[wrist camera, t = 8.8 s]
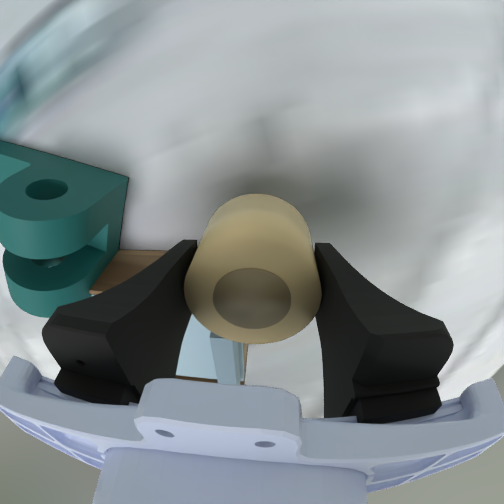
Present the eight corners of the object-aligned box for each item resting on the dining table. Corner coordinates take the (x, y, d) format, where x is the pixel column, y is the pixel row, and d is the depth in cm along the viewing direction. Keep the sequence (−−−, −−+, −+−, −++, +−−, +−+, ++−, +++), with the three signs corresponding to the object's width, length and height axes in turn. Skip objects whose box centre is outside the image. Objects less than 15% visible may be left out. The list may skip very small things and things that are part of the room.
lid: (244, 373, 21) (241, 403, 18) (97, 354, 21) (86, 377, 19) (240, 297, 17) (235, 332, 14) (62, 284, 17) (43, 308, 15)
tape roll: (305, 286, 15) (312, 347, 11) (209, 283, 15) (193, 343, 12) (314, 195, 12) (331, 243, 9) (200, 193, 13) (172, 239, 9)
